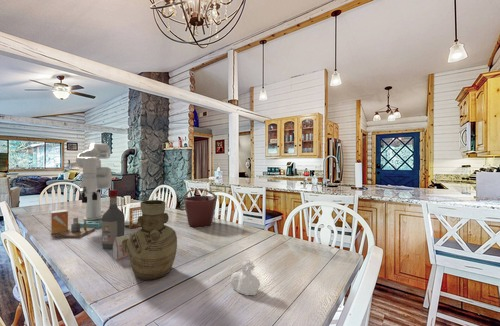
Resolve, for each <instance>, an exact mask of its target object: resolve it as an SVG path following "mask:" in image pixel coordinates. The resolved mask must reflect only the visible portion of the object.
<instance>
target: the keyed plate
mask: <svg viewBox="0 0 500 326" xmlns="http://www.w3.org/2000/svg"><path fill="white" fill-rule="evenodd" d="M84 221H86V228H95V229H100V228H102V220H99V221H96V220H83V221H81V222H79V223H80V228H84Z"/></svg>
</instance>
